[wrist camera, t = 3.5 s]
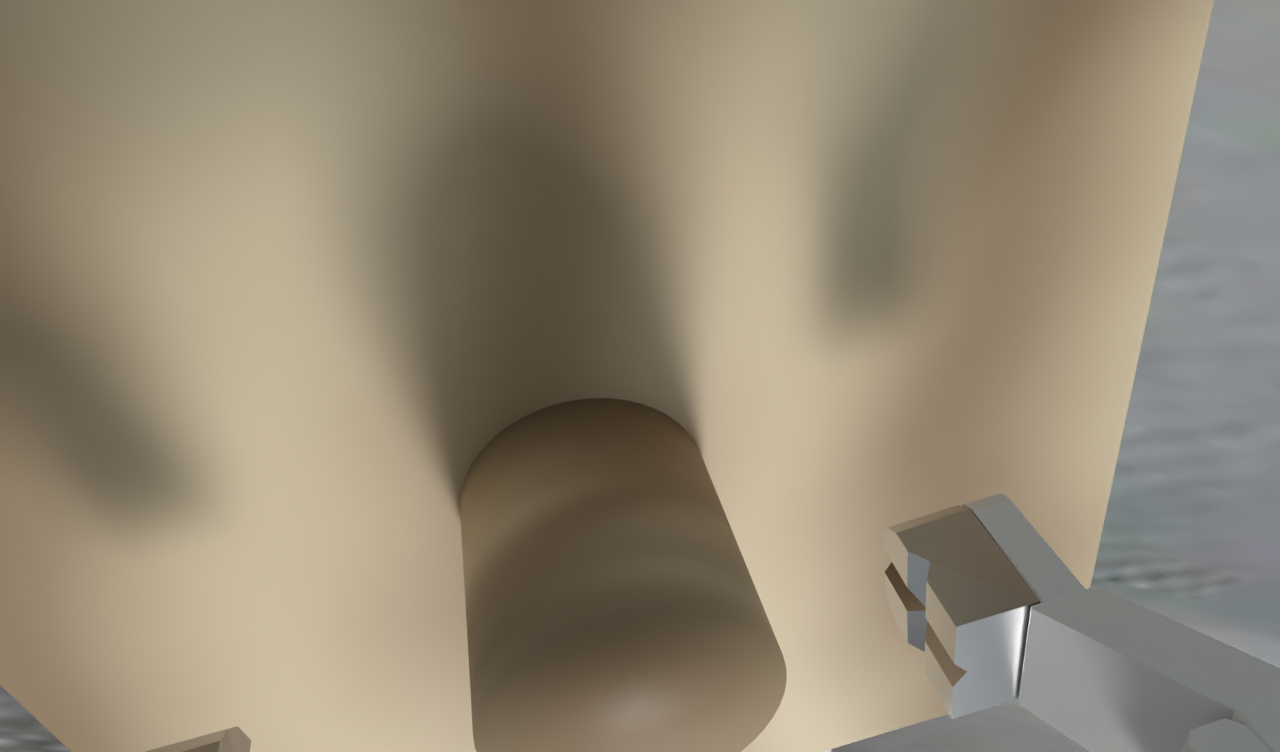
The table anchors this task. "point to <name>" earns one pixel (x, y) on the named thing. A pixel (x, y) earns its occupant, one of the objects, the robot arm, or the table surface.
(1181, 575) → the table surface
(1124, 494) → the table surface
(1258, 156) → the table surface
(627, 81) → the lid
